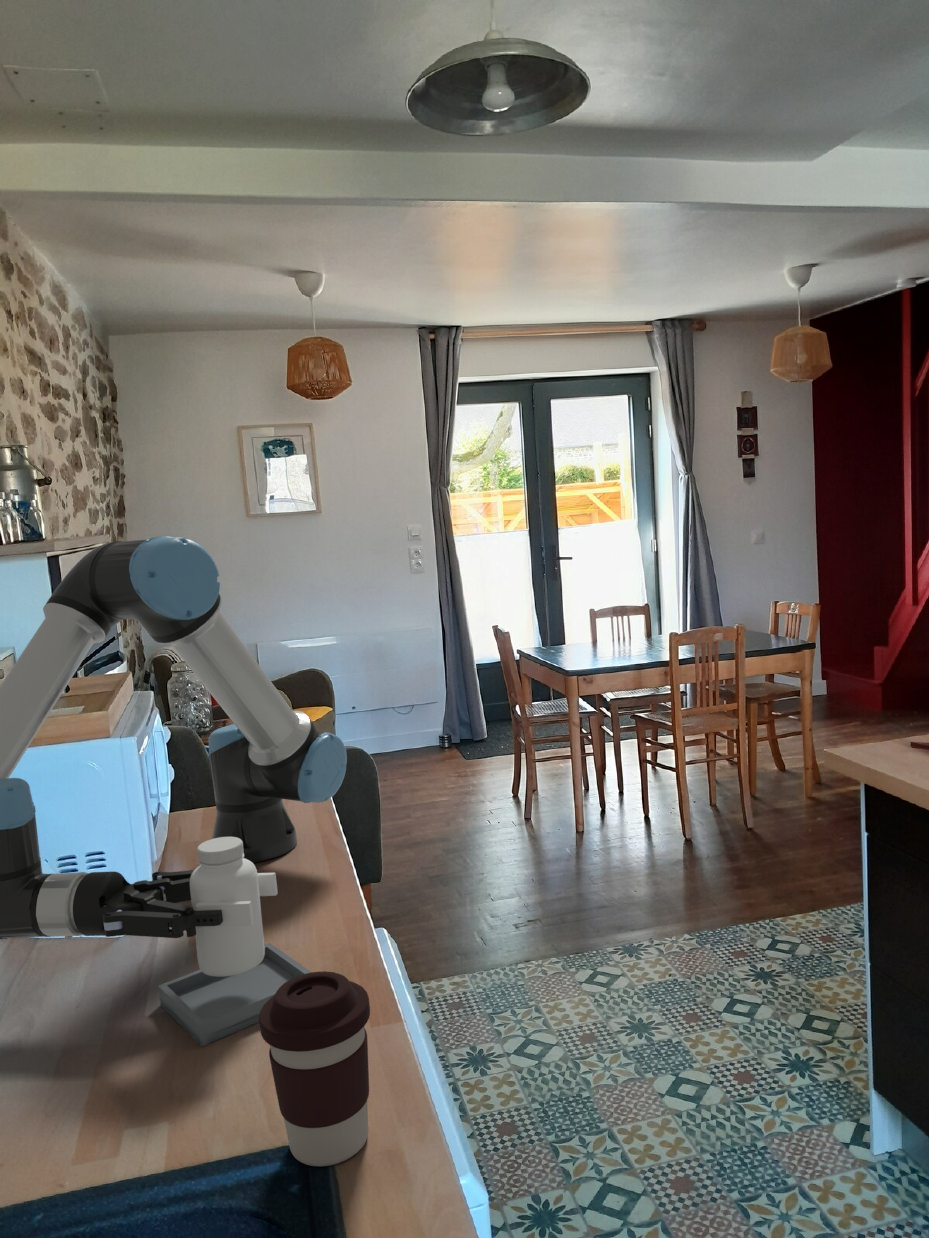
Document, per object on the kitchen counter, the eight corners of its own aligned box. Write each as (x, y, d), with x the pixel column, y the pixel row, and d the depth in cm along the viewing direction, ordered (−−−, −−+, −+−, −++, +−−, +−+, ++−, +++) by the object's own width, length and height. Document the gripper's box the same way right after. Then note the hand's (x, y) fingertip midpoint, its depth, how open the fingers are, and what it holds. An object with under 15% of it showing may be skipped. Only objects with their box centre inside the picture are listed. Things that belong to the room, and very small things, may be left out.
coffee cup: (389, 1165, 82) (372, 1005, 80) (275, 1190, 80) (255, 1027, 78) (377, 1098, 91) (361, 954, 90) (275, 1119, 90) (257, 973, 88)
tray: (271, 960, 123) (269, 942, 123) (319, 995, 113) (317, 975, 112) (160, 1004, 114) (158, 985, 113) (201, 1046, 103) (198, 1025, 103)
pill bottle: (249, 979, 108) (235, 855, 106) (186, 978, 109) (171, 855, 108) (276, 947, 115) (264, 831, 114) (217, 947, 117) (204, 832, 115)
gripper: (130, 898, 124) (293, 893, 121) (42, 974, 104) (235, 970, 101) (123, 844, 124) (287, 837, 121) (33, 910, 103) (228, 904, 100)
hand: (263, 898), depth 111 cm, fingers closed on pill bottle, 8 cm apart
